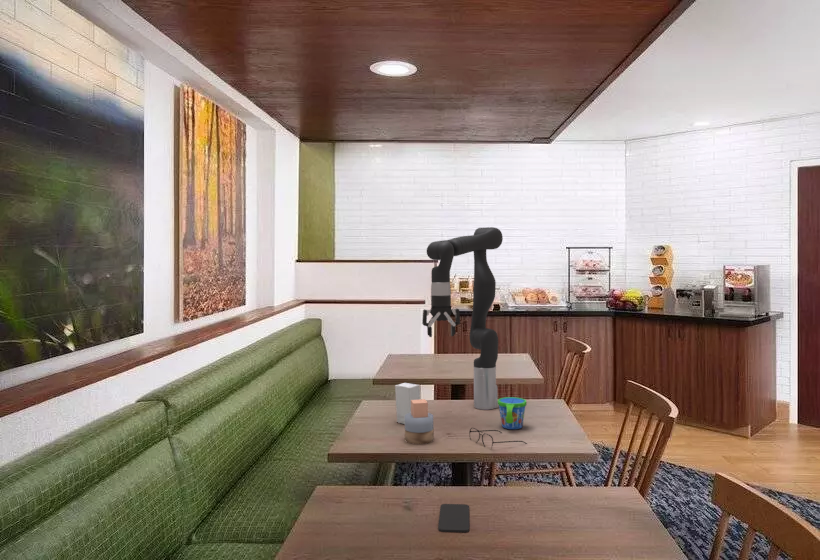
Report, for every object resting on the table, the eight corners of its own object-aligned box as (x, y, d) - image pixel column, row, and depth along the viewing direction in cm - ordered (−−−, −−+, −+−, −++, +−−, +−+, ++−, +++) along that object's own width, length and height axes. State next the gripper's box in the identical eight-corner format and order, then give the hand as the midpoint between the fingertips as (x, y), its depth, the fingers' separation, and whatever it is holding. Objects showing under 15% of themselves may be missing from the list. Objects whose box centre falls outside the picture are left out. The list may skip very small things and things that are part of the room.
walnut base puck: (430, 435, 216) (430, 423, 216) (436, 444, 206) (436, 431, 206) (403, 437, 214) (403, 424, 214) (407, 446, 204) (407, 433, 204)
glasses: (468, 440, 210) (469, 426, 210) (502, 438, 217) (504, 425, 217) (491, 452, 197) (493, 437, 197) (527, 450, 204) (529, 435, 204)
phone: (469, 504, 155) (469, 530, 140) (469, 507, 155) (469, 534, 140) (440, 503, 156) (437, 529, 141) (440, 506, 156) (437, 533, 141)
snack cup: (503, 420, 233) (503, 394, 232) (530, 423, 229) (530, 396, 228) (492, 431, 218) (492, 403, 218) (521, 434, 214) (521, 406, 214)
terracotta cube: (424, 413, 213) (424, 399, 212) (427, 416, 208) (427, 402, 208) (411, 414, 212) (410, 400, 212) (413, 417, 207) (413, 403, 207)
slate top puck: (430, 423, 216) (430, 411, 215) (436, 431, 206) (435, 418, 205) (402, 425, 214) (402, 412, 214) (407, 433, 204) (407, 420, 204)
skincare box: (421, 423, 230) (421, 384, 229) (410, 426, 226) (409, 387, 225) (406, 419, 236) (406, 381, 235) (395, 422, 232) (394, 384, 231)
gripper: (456, 292, 234) (457, 334, 235) (420, 293, 232) (421, 335, 233) (461, 294, 227) (461, 337, 228) (424, 295, 225) (424, 338, 226)
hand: (441, 336), depth 230 cm, fingers open, 8 cm apart
